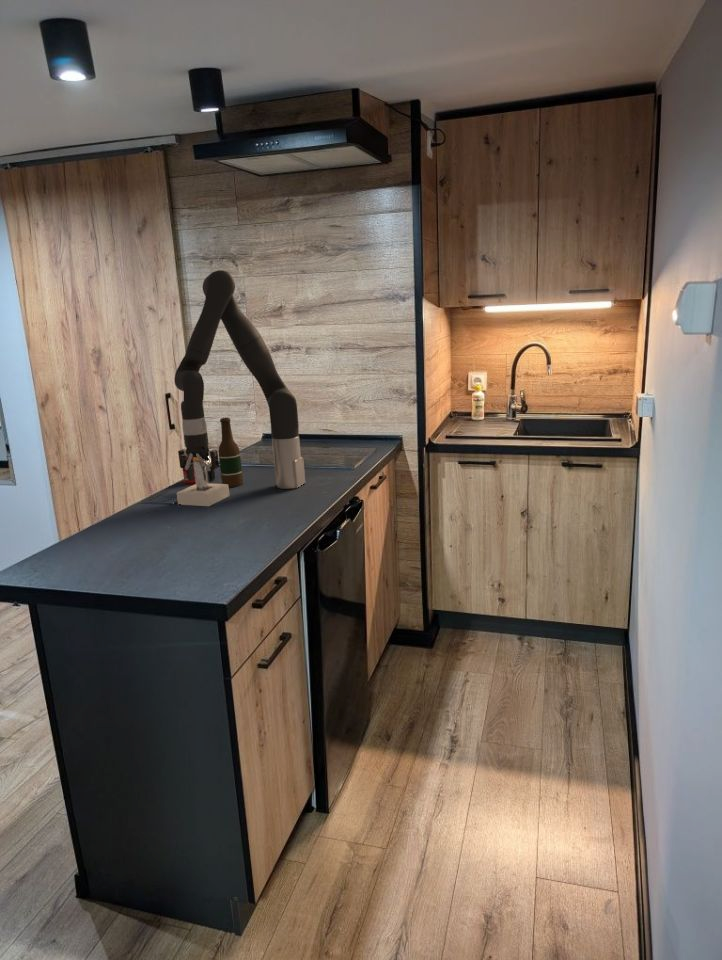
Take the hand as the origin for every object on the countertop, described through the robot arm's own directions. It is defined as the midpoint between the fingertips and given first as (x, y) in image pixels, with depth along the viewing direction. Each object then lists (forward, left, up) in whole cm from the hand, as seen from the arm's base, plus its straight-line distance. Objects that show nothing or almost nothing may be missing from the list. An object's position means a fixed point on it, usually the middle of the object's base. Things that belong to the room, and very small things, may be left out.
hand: (201, 480), depth 222 cm
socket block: (0, 0, -7) cm, 7 cm away
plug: (0, 0, -7) cm, 7 cm away
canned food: (+18, -21, -7) cm, 29 cm away
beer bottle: (+1, -19, -7) cm, 20 cm away
